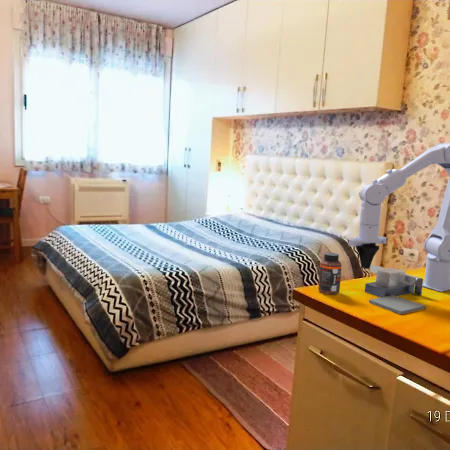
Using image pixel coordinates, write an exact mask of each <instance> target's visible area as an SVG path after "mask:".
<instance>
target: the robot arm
mask: <svg viewBox="0 0 450 450" xmlns="http://www.w3.org/2000/svg"><path fill="white" fill-rule="evenodd" d="M431 165H439V166H440V167H441V168H443V169H444V170H445V172H446V173H447V174H448V176H449V177H448V181H447V184H446V188H445V192H444V196H443V199H442V203H441V208H440V211H439V215H438V217H437V218H438V219H437V221H436V225H435V226H434V227H433V228H432V229H431V230H430V233H429V236H428V237H427V238H426V239H425V241H424V244H423V248H424V250H425V252H426V253H427V254H426V264H425V271H424V279H423V285H422V288H423V287H424V288H426V289H430V290H433V291H437V292H440V293H441V292H445V291H450V142H439V143H437V144H435V145H434V146H432V147H429V148H427V149H426V150H425V151H424V152H422V153H421V154H419V155H418V156H417V157H415V158H414V159H412V160H411V161H410V162H408V163H407V164H405V165H403V167H401V168H400V169H398V168H393V169H387V170H386V171H385V174H383V175H382V176H380V177H379V178H376V179H375V178H374V179H373V180H372V183H367V184H365V185H364V186H362V187H361V190H360V192H359V193H358V194H359V195H358V196H359V199H360V200H361V204H360V205H361V206H360V215H359V226H358V235H357V236H355V237H353V238H349V239H348V247H352V248H355V250H356V251H357V253H358V255H359V256H358V257H359V261H360V267H361V268H363V269H366V270H370V265H372V262H373V259H374V257H375V255H376V254H377V252H378V251H379V249H380V244H383V245H385V244H387V237H385V236H379V233H380V221H381V211H382V203H384V201H385V200H386V197H388V196H389V195H391V194H392V193H394V192H395V191H397V190H398V189H400V188H402V187H403V186H404V185H406V181H407V179H408V178H410V177H411V176H413V175H414V174H417V173H418V172H420V171H421V170H423V169H425V168H427V167H429V166H431ZM377 244H378V245H377Z"/></svg>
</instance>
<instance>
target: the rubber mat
mask: <svg viewBox="0 0 450 450" xmlns="http://www.w3.org/2000/svg"><path fill="white" fill-rule="evenodd" d="M368 303H369V304H371V305H374V306H377V307H379V308H382V309H384V310H387V311H390V312H392V313H395V314H397V315H398V314H399V315H404V314H408V313H412V312H417V311H421V310H424V309H426V305H425V304H422V303H418V302H416V301H414V300H413V301H412V300H409V299H406V298H404V297H400V296H395V295H391V296H386V297H377V298H371V299H369V300H368Z"/></svg>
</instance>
